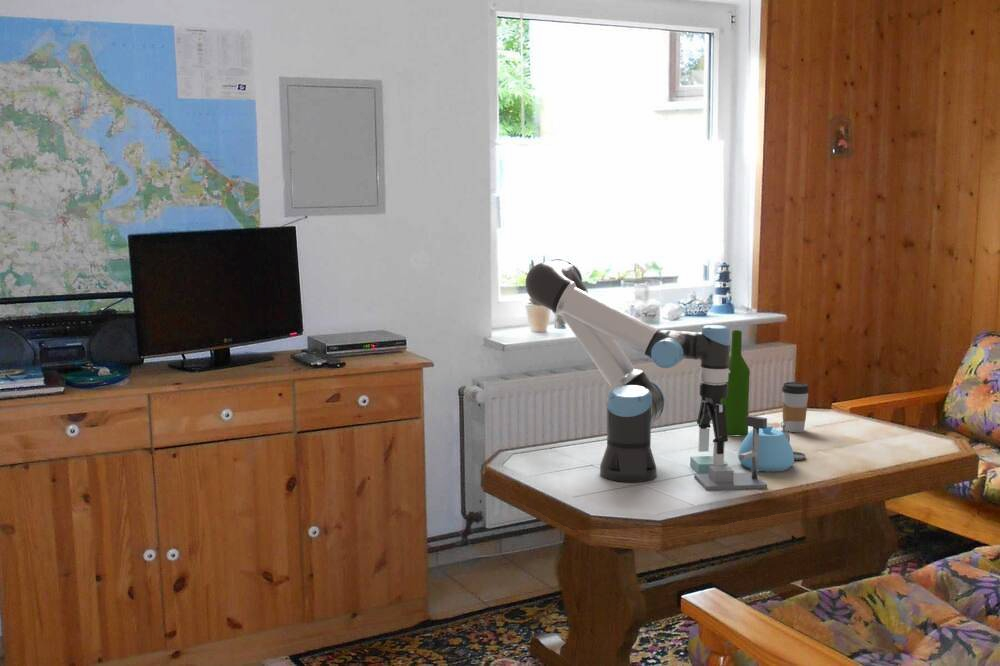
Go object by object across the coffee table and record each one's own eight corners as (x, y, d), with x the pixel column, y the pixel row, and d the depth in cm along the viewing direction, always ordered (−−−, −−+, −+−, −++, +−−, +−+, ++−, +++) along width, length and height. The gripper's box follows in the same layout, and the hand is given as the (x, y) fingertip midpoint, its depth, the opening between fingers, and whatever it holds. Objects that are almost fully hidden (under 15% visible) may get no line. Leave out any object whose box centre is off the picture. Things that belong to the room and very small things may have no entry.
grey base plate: (706, 490, 251) (706, 475, 251) (694, 477, 262) (694, 463, 262) (767, 488, 253) (767, 473, 252) (752, 476, 264) (753, 461, 263)
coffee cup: (810, 433, 309) (812, 387, 307) (784, 433, 309) (786, 386, 307) (802, 427, 317) (804, 381, 315) (777, 427, 317) (778, 381, 315)
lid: (698, 475, 266) (698, 464, 265) (690, 466, 274) (690, 456, 273) (727, 474, 266) (727, 463, 266) (718, 466, 274) (718, 455, 274)
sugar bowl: (731, 459, 280) (732, 419, 279) (782, 458, 281) (784, 418, 280) (747, 474, 266) (748, 432, 264) (801, 473, 267) (803, 431, 265)
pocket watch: (806, 461, 277) (808, 427, 276) (775, 460, 279) (777, 425, 278) (803, 454, 285) (805, 420, 284) (773, 452, 287) (775, 419, 285)
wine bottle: (753, 435, 307) (757, 332, 302) (726, 437, 305) (730, 333, 300) (739, 428, 316) (743, 328, 311) (714, 430, 314) (717, 329, 309)
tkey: (749, 484, 252) (751, 422, 249) (732, 480, 255) (734, 419, 253) (764, 479, 257) (766, 418, 254) (748, 475, 260) (750, 415, 258)
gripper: (742, 391, 255) (738, 470, 258) (713, 373, 279) (710, 445, 282) (714, 392, 254) (710, 471, 257) (687, 373, 279) (684, 446, 282)
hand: (710, 458), depth 270 cm, fingers open, 13 cm apart
